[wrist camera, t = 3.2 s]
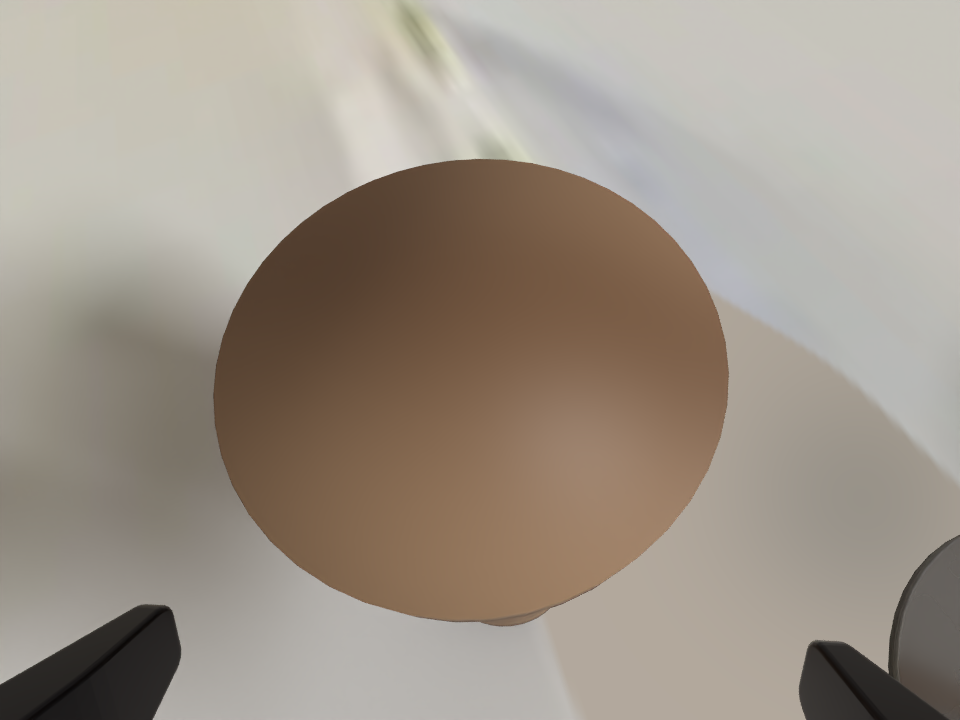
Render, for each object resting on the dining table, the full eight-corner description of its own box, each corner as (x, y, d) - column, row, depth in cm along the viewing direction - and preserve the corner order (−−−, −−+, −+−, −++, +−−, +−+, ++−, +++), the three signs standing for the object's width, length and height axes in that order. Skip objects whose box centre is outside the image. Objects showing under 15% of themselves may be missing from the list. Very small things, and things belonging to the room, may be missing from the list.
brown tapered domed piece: (586, 642, 16) (779, 636, 4) (416, 632, 17) (139, 603, 5) (580, 473, 19) (691, 154, 7) (431, 468, 19) (276, 162, 7)
